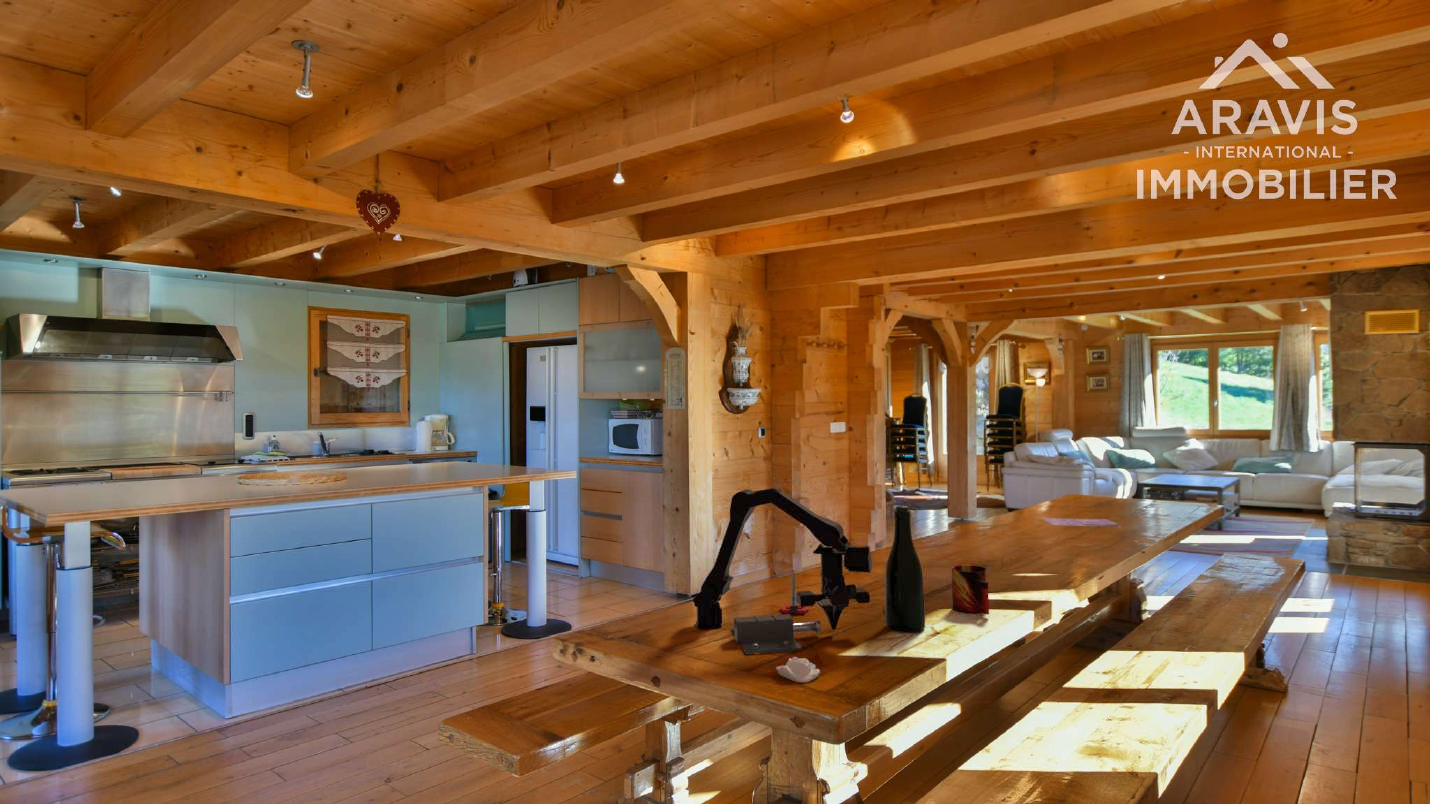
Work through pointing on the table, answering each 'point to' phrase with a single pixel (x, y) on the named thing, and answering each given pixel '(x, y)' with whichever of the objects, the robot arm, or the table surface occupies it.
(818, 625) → the pin
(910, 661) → the table surface
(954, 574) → the mug
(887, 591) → the beer bottle
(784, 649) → the hinge
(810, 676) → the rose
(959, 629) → the table surface
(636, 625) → the table surface
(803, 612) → the tow hook
